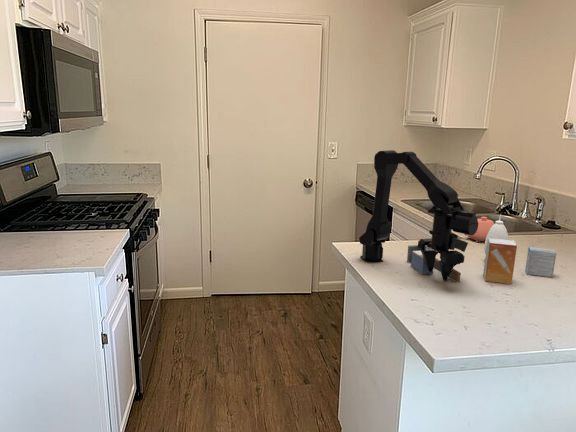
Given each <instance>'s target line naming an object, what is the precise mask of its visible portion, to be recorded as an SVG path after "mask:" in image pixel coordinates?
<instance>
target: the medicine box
mask: <svg viewBox="0 0 576 432" xmlns="http://www.w3.org/2000/svg"><path fill="white" fill-rule="evenodd" d="M556 257H557V252H556V251H555V250H554V248H553V249H552V248H551V249H550V248H541V247H531V246H529V247H528V248H527V255H526V261H525V262H526V263H525V273H526V275H527V276H528V275H530V276H537V277H538V276H539V277H546V278H547V277H548V278H554V271H555V265H556V259H557V258H556Z"/></svg>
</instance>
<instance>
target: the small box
mask: <svg viewBox="0 0 576 432" xmlns="http://www.w3.org/2000/svg"><path fill="white" fill-rule="evenodd" d="M517 248H518V246H517V243H516V241H515V240H514V239H513V240H510V239H509V240H503V239H491V238H488V241H487V249H486V254H485V257H484V264H483V265H484V267H483V273H482V275H483V279H484V281H485V282H493V283H497V284H507V285H512V284H513V279H514V278H513V277H514V269H515V264H516V263H515V262H516V255H517V251H518V250H517Z"/></svg>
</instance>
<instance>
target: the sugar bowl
mask: <svg viewBox="0 0 576 432" xmlns="http://www.w3.org/2000/svg"><path fill="white" fill-rule="evenodd" d="M477 220H478V223H479V224H478V229H477V231H476V233H475V234H474V235H467V234H463V235H465V236H468V238H469V239H471V240H474V241H475V242H476V243H481V242H484V243H485V240H486V237H487V234H488V232H489V230H490V229H491V227H492V226H493V225H494V224H495V223H494V221H493V220H492V219H488V217H487V216H481V217H480V218H477Z"/></svg>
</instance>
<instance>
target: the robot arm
mask: <svg viewBox="0 0 576 432" xmlns="http://www.w3.org/2000/svg"><path fill="white" fill-rule="evenodd" d="M373 161H374V162H373V163H374V165H373V167H374V170H375V173H376V177H377V179H376V183H375V184H376V185H375V195H374V202H373V210H372V211H373V212H372V215H371V218H370V220H369V221H368V222H367V225H366V229H365V232H364V233H363V234H362V235H360V237H358V239H359V244H360V245H362V252H361V254H362V255H360V256H359V257H360V258H361V259H362V260H363V261H364V262H366V263H377V262H379V263H381V262H384V260H383V256H384V247H383V244H385V243H386V241H387V239H388V238H389V237H390V234H392V226H393V222H390V221H389V219H388V211H389V210H388V209H389V204H390V203H389V202H390V194H391V186H392V179H393V176H394V175H395V173H396V171H397V170H398V167H399V165H403V166H405V168H406V169H407V170H408V171H409V172H410V173H411V174H412V175H413V177H414V178H416V180H417V181H418V182H419V184H421V185H422V186H423V188H424V189H425V191H426V193H427V196H428V199H429V200H430V201H431V204H432V205H433V206H432V207H431V208H430V209H427V213H428V214H433V218H432V220H433V221H432V229H431V230H429V234H430V235H431V238H420V239H419V240H418V241H417V245H418V247H419V248H421V249H420V251H421V252H422V255H423V257H424V259H425V262H426V265H427V267H428V270H429V272H432V271H433V272H434V269H435V268H434V263H435V258H436V257H437V255H438V254H439V259H438V260H439V264H440V269H441V272H440V273H441V279H442V281H443V282H447V281H448V279H449V275H450V273H451V271H452V269H454V268H455V266H457V265H460V264H463V263H465V255H464V254H463V253H465V252H466V249H467V246H468V245H469V243H468V241H464V240H462V239H460V238H459V237H458V236H459V235H457V234H456V233H460V234H463V235H464V234H467V235H466V236H468V235H474V234H475V233H476V231H477V229H478V224H479V223H478V220H477V219H478V218H477V216H476V215H477V214H476V212H473V211H466V210H465V209H464V207H463V205H462V204H461V202H460V199H459V194H458V192H457V190H455V189H454V188H453V187H451V186H450V185H448V184H447V183H445V182H443V181H441V180H439V179H438V178H437V177H436V175H434V174H433V172H432V171H431V170H430V169H429V168H428V167H427V166H426V165H425V164H424V162H423V161H422V160H421V159H420V158H419V157H418V156H417V154H416V152H414V151H412V150H411V151H402V152H397V151H396V150H394V149H392V150H390V149H389V150H380V151H379V150H378V151H377V153H375V154H374V157H373ZM452 231H453V232H452ZM455 249H456V250H455ZM458 250H459V251H458ZM460 251H461V252H460ZM436 259H437V258H436Z"/></svg>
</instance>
